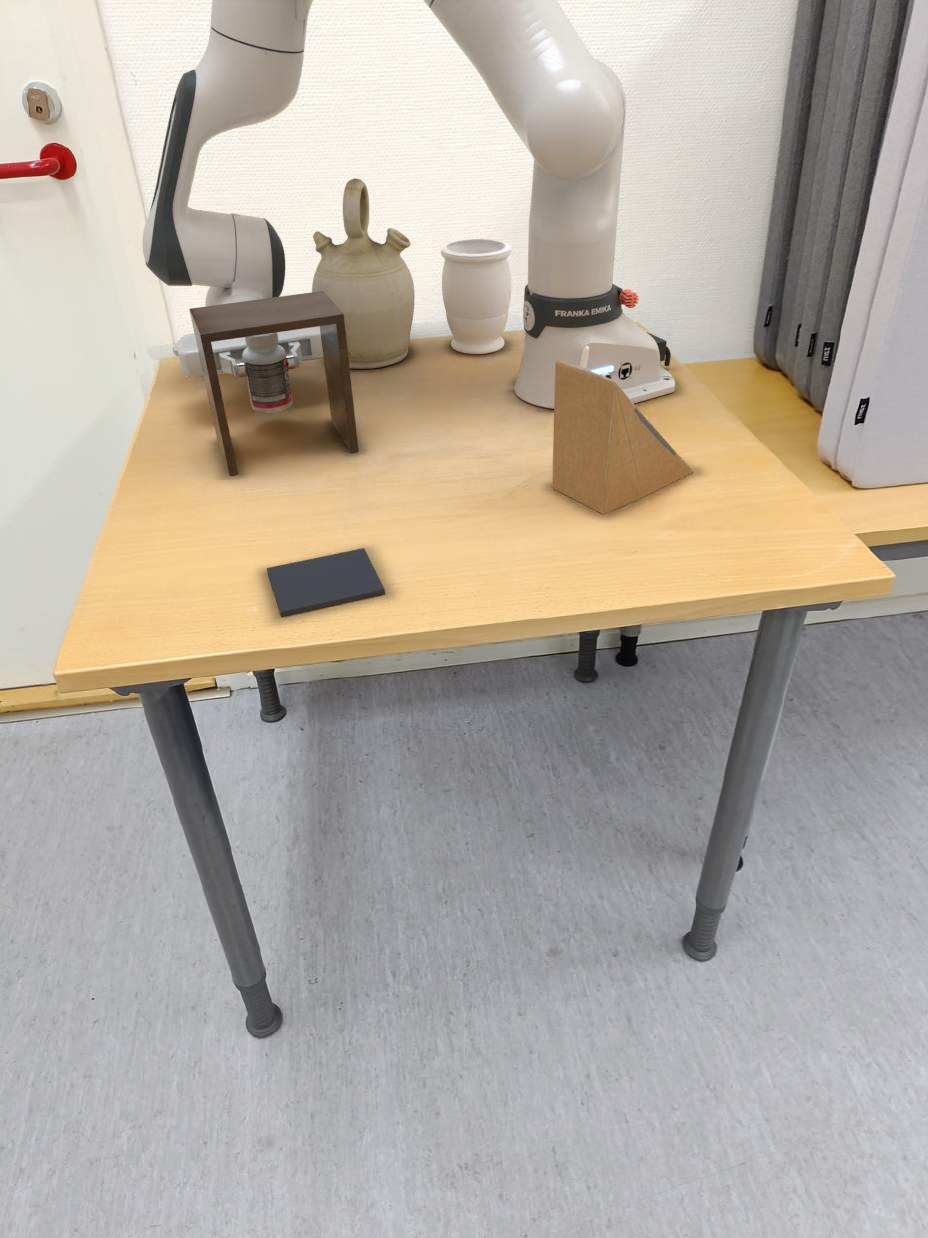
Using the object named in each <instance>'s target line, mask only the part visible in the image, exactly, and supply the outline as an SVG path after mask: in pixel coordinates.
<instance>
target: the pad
mask: <svg viewBox="0 0 928 1238" xmlns="http://www.w3.org/2000/svg"><path fill="white" fill-rule="evenodd" d="M266 572H267V576H268V578H269V579H268V580H269V582H270V585H271V589H272V591H273V595H274V598H275V602H276V604H277V608H278V610H279V614H280V617H282V618H283V617H287V616H288V617H289V616H291V615H297V614H300V613H305V612H310V611H314V610H319V609H325V608H328V607H332V606H336V605H337V606H338V605H342V604H346V603H350V602H354V601H359V600H363V599H369V598H372V597H378V596H383V595H385V594H386V589H385V587H384V585H383V583H382V581H381V579H380V577H379V574H378V573H377V571H376V569H375V567H374V565H373V563H372V561H371V559H370V557H369V555H368V553H367V551H366V549H365V547H362V548H357V549H352V550H348V551H343V552H338V553H333V554H328V555H323V556H317V557H313V558H309V559H304V560H298V561H295V562H289V563H285V564H284V563H283V564H280V565H275V566H270V567H266Z"/></svg>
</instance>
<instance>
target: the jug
mask: <svg viewBox="0 0 928 1238" xmlns="http://www.w3.org/2000/svg"><path fill="white" fill-rule="evenodd" d="M342 195H343V196H342V220H343V228H344V231H345V234H346V236H347V238H346V239H345V240H344V242H343V243H340V244H334V243H333V238H331V237H330V236H326V235H325V234H323V233H322V232H320V231H315V232H314V233H313V235H312V238H313V242H314V244H315V251H316V252H317V253H319V254H320V260H319V262H318V264H317V266H316V269H315V271H314V274H313V277H312V284H311V292H318V291H324V293H325V294H326V295H327V296H328V297H329V298H330V299H331V300H332V302H333V303H334V304H335V305H336V306H337V307H338V308H339V309H340V311H341V312H342V313H343V314H344V321H345V322H344V323H345V330H346V339H347V348H348V357H349V367H350V369H352V370H354V369H355V370H367V369H369V370H371V369H380V368H384V367H389V366H393V365H395V364H398V363H400V362H401V361H403V360H404V359H405V358H406V357H407V356H408V353H409V346H410V341H411V332H412V326H413V320H414V312H415V285H414V279H413V276H412V273H411V271H410V269H409V267H408V265H407V263H406V262H405V260H404V259H403V257H402V256H401V253H402V252H403V251H405V250H406V249H407V248H409V247H411V245H412V243H411V241H410V239H409V238H408V237H407V236H406V235H405V234H403V233H402V232H401V231H399V230H397V229H396V228H392V227H390V228H388V229H387V230H386V237H385V242H383V243H381V242H377V241H375V240H373V239H372V238H371V237H370V235H369V231H368V230H369V226H370V225H369V224H370V197H369V191H368V186H367V184H366V182H364V181H363V180H362V179H360V178H355V177H354V178H352V179H349V180H348V181H347V182H346V183H345V186H344V190H343V194H342Z"/></svg>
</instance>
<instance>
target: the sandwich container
mask: <svg viewBox="0 0 928 1238" xmlns="http://www.w3.org/2000/svg"><path fill="white" fill-rule="evenodd" d="M552 438H553V439H552V440H553V441H552V443H553V444H552V489H554V490H555V491H557V492H559V493H561V494H563V495H565V496H566V497H569V498H571V499H572V500H575V501H577V502H578V503H580V504H582V505H584V506H586V507H588V508H589V509H592V510H594V511H596V512H598V513H600V514H602V515H605V514H608V513H610V512H613V511H615V510H617V509H619V508H621V507H624V506H626V505H628V504H631V503H632V502H636V501H638V500H639V499H642V498H644V497H647V496H649V495H650V494H652V493H655V492H656V491H659V490H660V489H662V488H664V487H666V486H668V485H670V484H672V483H675V482H676V481H679V480H680V479H683V478H685V477H687V476H688V475H691V474H693V473H695V471H694V470H693V469H692V467H691V466H690V465H688V463H687V462H686V461H685V460H684V459H683V457H681V455H680V454H678V453H677V451H676V450H675V449H674V448H673V447H672V445H670V443H668V441H667V440H666V439H665V438H664V437H663V436H662V434H661V433H660V432H659V431H658V430H657V429H656V428H655V426H654V425H653V424H652V423H651V422H650V421H649V420H648V418H646V417H645V416H644V414H643V413H642V412H641V411H640V410H639V408H638V407H637V406H636V405H635V403H634V404H633V402H632V401H631V400H630V399H629V398H628V396H627V395H626V394H625V393H624V392H623V390H622V389H621V388H620V387H619V386H618V384H617V383H616V382H615V381H614V380H612V379H609V378H607V377H605V376H602V375H600V374H597V373H595V372H593V371H590V370H588V369H585V368H582V367H579V366H575V365H572V364H569V363H566V362H563V361H559V360H558V361H557V362H556V364H555V399H554V409H553V436H552Z"/></svg>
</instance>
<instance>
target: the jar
mask: <svg viewBox="0 0 928 1238" xmlns="http://www.w3.org/2000/svg"><path fill="white" fill-rule="evenodd" d="M511 253H512V244H510V243H509V242H506V241H503V240H498V239H489V238H470V239H469V238H468V239H459V240H454V241H450V242H447V243H445V244H443V245H442V246H441V247H440V255H441V257H442V258H443V259H444V262H443V266H442V273H441V274H442V275H441V293H442V301H443V306H444V310H445V317H446V322H447V326H448V327H449V330H450V332H451V334H452V336H453V338H452V339H451V342H450V346H451V348H452V349H453V350H454V351H456V352H459V353H463V354H468V355H485V354H491V353H495V352H498V351H500V350H501V349H503V348H504V346H505V340H504V338H503V337H502V335H503V333H504V332H505V331H504V330H505V328H506V326H507V322H508V317H509V316H508V315H509V309H510V305H511V298H512V274H511V267H510V263H509V259H508V258H509V256H511Z"/></svg>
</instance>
